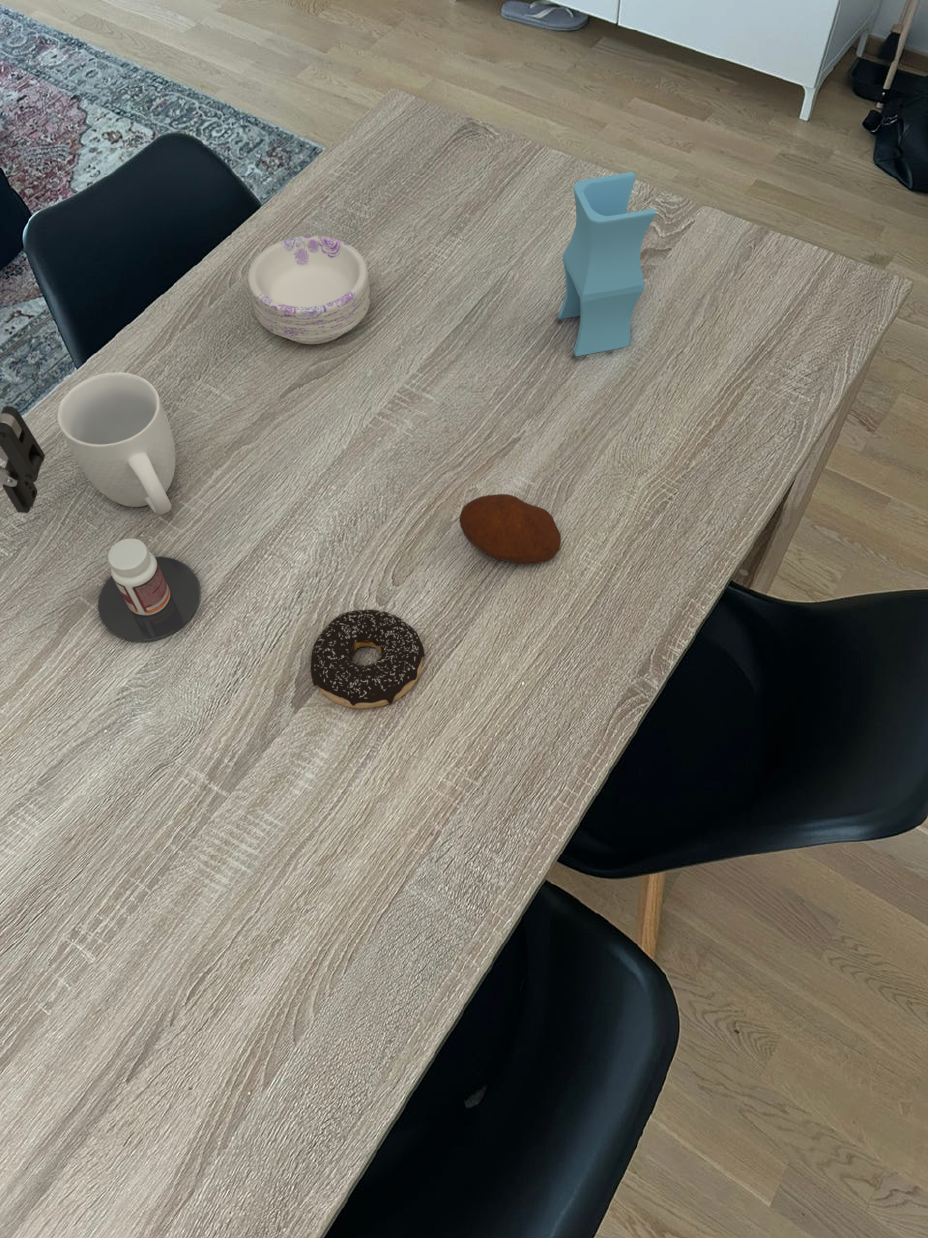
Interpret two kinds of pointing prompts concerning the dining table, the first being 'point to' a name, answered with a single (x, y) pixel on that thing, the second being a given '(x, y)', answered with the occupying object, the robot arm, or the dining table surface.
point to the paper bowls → (309, 288)
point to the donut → (366, 681)
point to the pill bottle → (138, 577)
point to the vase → (604, 263)
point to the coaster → (160, 623)
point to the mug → (121, 438)
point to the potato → (510, 529)
